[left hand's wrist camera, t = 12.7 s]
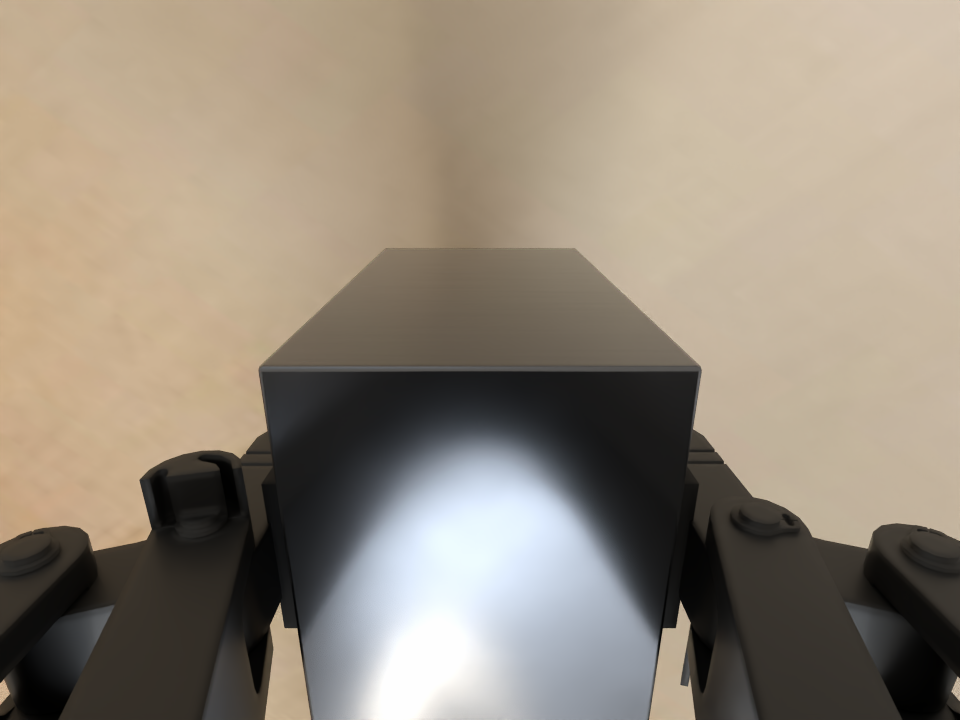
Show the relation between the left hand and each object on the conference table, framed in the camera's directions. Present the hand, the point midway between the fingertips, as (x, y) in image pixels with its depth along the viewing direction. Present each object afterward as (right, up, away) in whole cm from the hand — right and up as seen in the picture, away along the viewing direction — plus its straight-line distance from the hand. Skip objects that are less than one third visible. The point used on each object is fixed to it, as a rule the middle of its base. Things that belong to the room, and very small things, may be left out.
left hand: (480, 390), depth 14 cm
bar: (0, -12, +5) cm, 13 cm away
